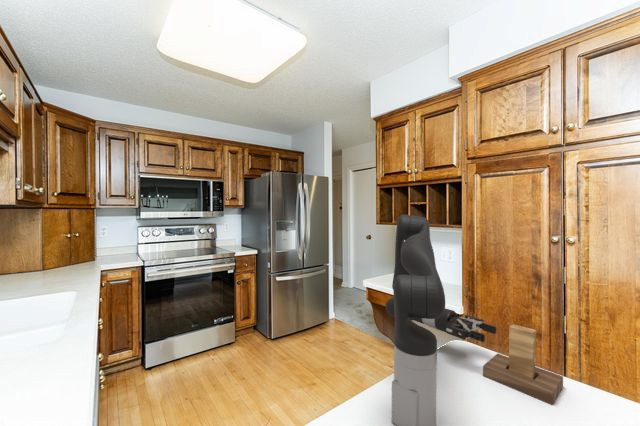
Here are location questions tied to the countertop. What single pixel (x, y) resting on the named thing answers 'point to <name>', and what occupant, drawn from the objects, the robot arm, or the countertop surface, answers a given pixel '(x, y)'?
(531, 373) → the plank
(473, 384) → the countertop surface
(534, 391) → the base board
